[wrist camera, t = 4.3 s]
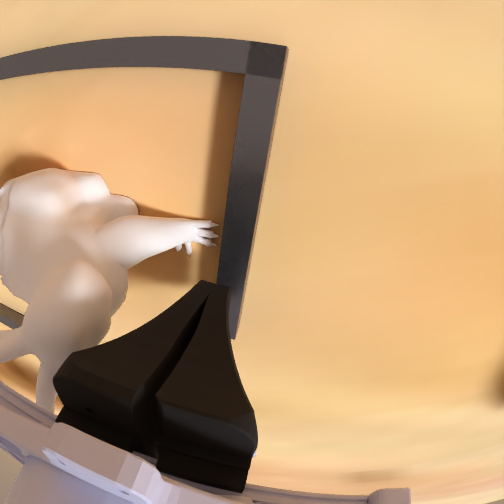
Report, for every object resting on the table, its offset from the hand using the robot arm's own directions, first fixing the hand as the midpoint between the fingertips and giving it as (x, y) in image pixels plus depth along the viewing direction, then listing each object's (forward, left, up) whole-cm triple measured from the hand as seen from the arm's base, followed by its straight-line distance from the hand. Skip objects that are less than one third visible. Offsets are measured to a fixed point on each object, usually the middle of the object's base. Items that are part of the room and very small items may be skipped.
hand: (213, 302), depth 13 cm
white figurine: (-3, +6, -2) cm, 7 cm away
